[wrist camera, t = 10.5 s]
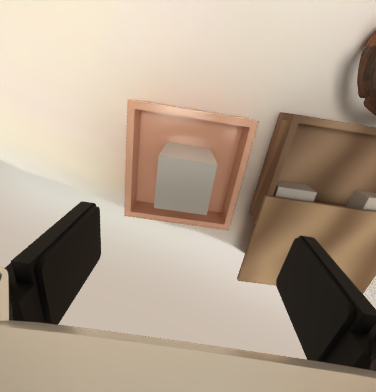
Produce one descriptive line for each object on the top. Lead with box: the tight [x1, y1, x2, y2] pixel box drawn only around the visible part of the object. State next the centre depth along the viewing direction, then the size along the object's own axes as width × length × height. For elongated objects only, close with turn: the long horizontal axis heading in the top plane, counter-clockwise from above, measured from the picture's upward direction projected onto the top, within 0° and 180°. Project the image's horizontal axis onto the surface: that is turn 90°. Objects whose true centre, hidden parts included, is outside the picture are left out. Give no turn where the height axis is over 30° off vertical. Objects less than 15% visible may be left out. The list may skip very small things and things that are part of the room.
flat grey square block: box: [273, 180, 317, 202], centre depth 22 cm, size 4×4×2 cm
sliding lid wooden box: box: [237, 113, 376, 294], centre depth 23 cm, size 16×19×4 cm
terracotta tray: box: [125, 100, 259, 230], centre depth 21 cm, size 11×11×3 cm
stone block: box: [154, 142, 217, 215], centre depth 19 cm, size 4×4×6 cm
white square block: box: [346, 190, 376, 211], centre depth 23 cm, size 4×4×2 cm
